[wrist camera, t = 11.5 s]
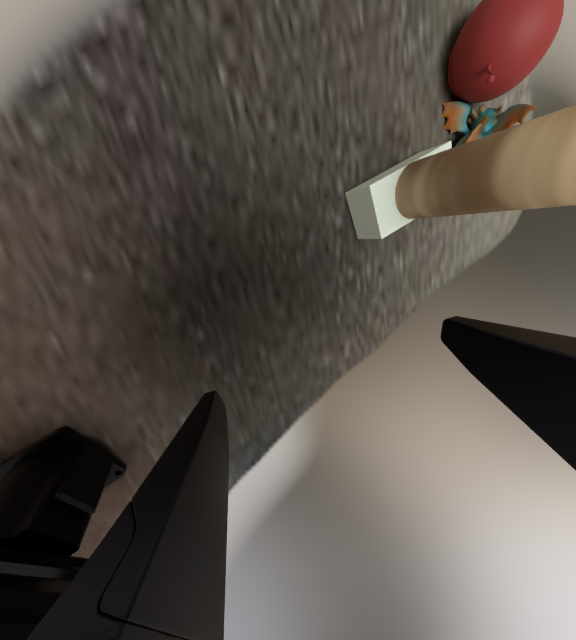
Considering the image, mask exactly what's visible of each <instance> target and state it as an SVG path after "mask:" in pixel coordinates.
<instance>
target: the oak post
mask: <svg viewBox="0 0 576 640" xmlns="http://www.w3.org/2000/svg"><path fill="white" fill-rule="evenodd" d="M395 201H396V206H397V209H398V211H399V212H400V214H401V215H402V216H403V217H405V218H407V219H418V218H430V217H441V216H453V215H464V214H476V213H487V212H499V211H510V210H522V209H534V208H544V207H557V206H568V205H576V105H573V106H570V107H567V108H565V109H562V110H559V111H556V112H553V113H550V114H547V115H545V116H542V117H539V118H536V119H533V120H530V121H528V122H525V123H522V124H519V125H516V126H513V127H510V128H508V129H505V130H502V131H499V132H496V133H493V134H491V135H488V136H485V137H482V138H479V139H476V140H473V141H471V142H468V143H465V144H462V145H459V146H456V147H454V148H451V149H448V150H445V151H442V152H439V153H436V154H434V155H431V156H428V157H425V158H422V159H419V160H417V161H414V162H412V163H410V164H409V165H407V166H406V167H405V168H404V170H403V171H402V173H401V174H400V176H399V178H398V181H397V185H396V190H395Z"/></svg>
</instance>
